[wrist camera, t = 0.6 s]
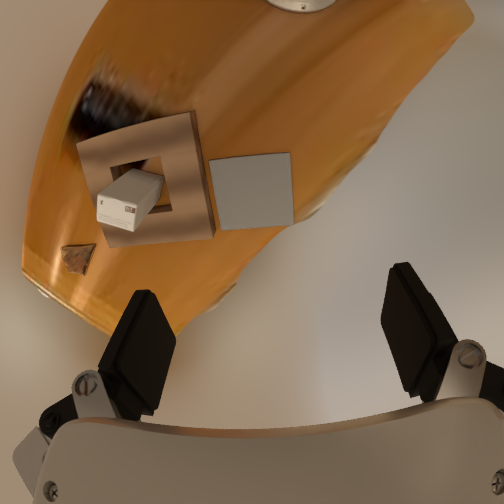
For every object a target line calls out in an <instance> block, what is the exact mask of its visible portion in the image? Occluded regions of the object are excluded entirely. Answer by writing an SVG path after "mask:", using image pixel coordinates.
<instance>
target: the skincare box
mask: <svg viewBox="0 0 504 504" xmlns="http://www.w3.org/2000/svg"><path fill="white" fill-rule="evenodd" d="M163 180H164V176H161V175H157V174H154V173H150V172H146V171H142V170H138V169H135V168H132V169H130V170H129V171H128V172H126V173H125V174H124V175H122V176H121V177H120V178H118V179H117V180H116V181H114V182H113V183H112V184H110V185H109V186H108V187H106V188H105V189H104V190H103V191H101V192H100V193H99V194H98V197H97V221H99V222H102V223H106V224H109V225H112V226H116V227H119V228H122V229H126V230H129V231H132V232H134V231H135V229H136V228H137V227H138V226H139V224H140V223H141V222H142V220H143V219H144V218H145V216H146V215H147V214H148V213H149V211H150V210H151V209H152V208H153V206H154V205H155V204H156V203H157V201H158V200H159V199H160V195H161V190H162V185H163Z"/></svg>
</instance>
